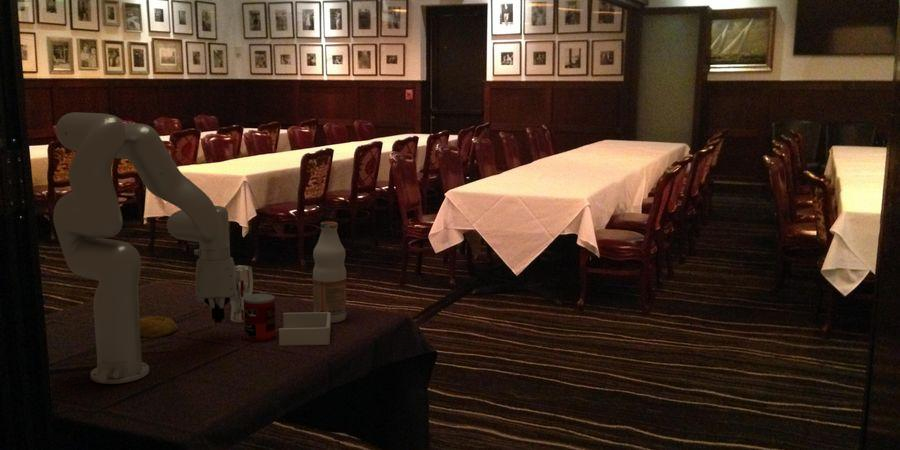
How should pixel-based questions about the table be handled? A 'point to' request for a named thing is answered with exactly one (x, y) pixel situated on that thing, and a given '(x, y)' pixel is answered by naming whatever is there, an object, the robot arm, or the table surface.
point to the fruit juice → (329, 273)
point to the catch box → (305, 329)
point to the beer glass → (241, 291)
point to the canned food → (259, 317)
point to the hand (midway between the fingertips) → (218, 321)
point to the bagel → (156, 326)
